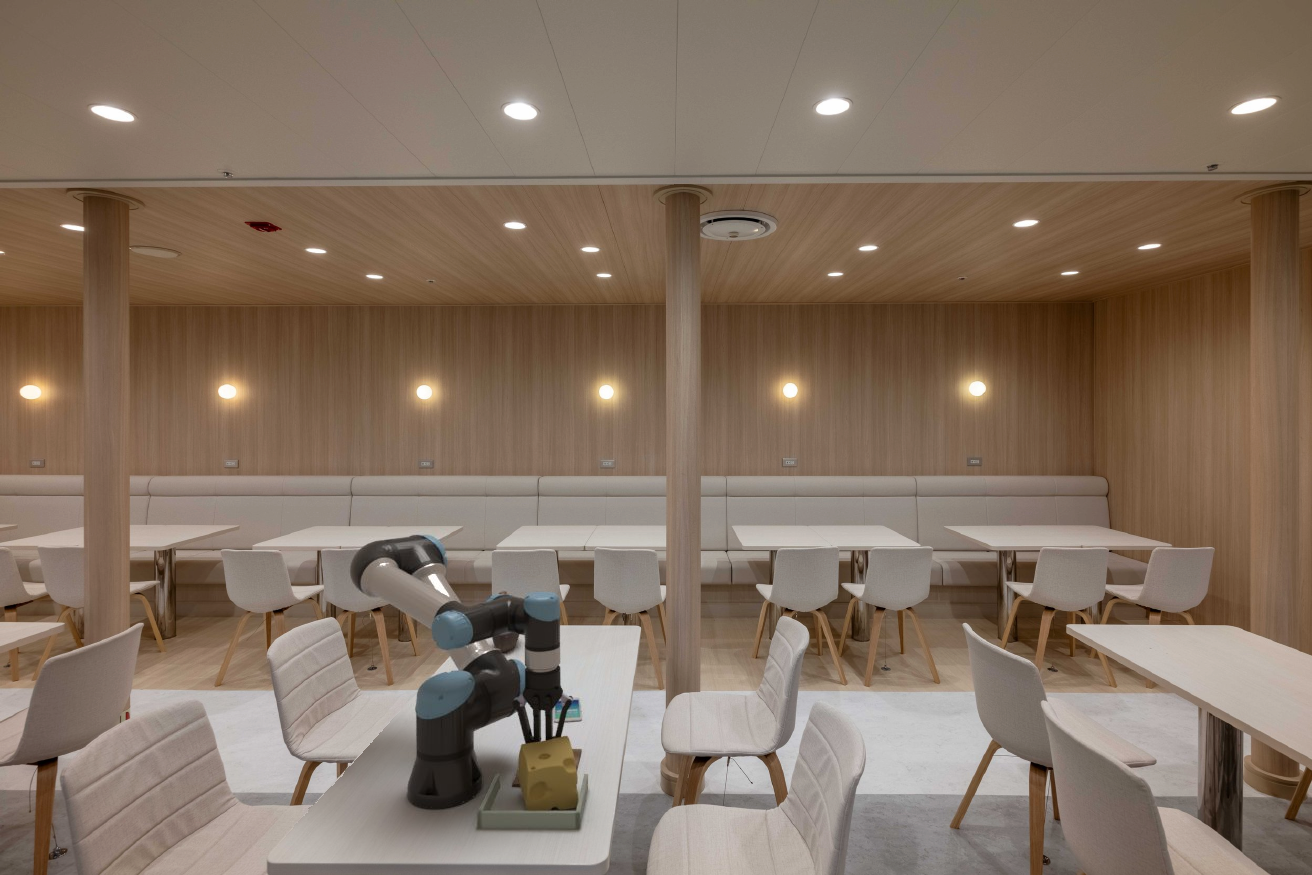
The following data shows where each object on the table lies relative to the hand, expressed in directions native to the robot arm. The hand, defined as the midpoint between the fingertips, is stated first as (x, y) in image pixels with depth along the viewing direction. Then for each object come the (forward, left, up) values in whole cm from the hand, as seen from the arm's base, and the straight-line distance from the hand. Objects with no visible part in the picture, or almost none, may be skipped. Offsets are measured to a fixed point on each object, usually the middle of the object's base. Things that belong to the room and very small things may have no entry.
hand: (543, 775), depth 145 cm
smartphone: (+22, +32, -3) cm, 39 cm away
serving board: (+4, +6, -2) cm, 8 cm away
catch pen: (-5, -7, -2) cm, 8 cm away
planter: (+29, +92, -2) cm, 97 cm away
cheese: (-2, -6, -2) cm, 6 cm away
